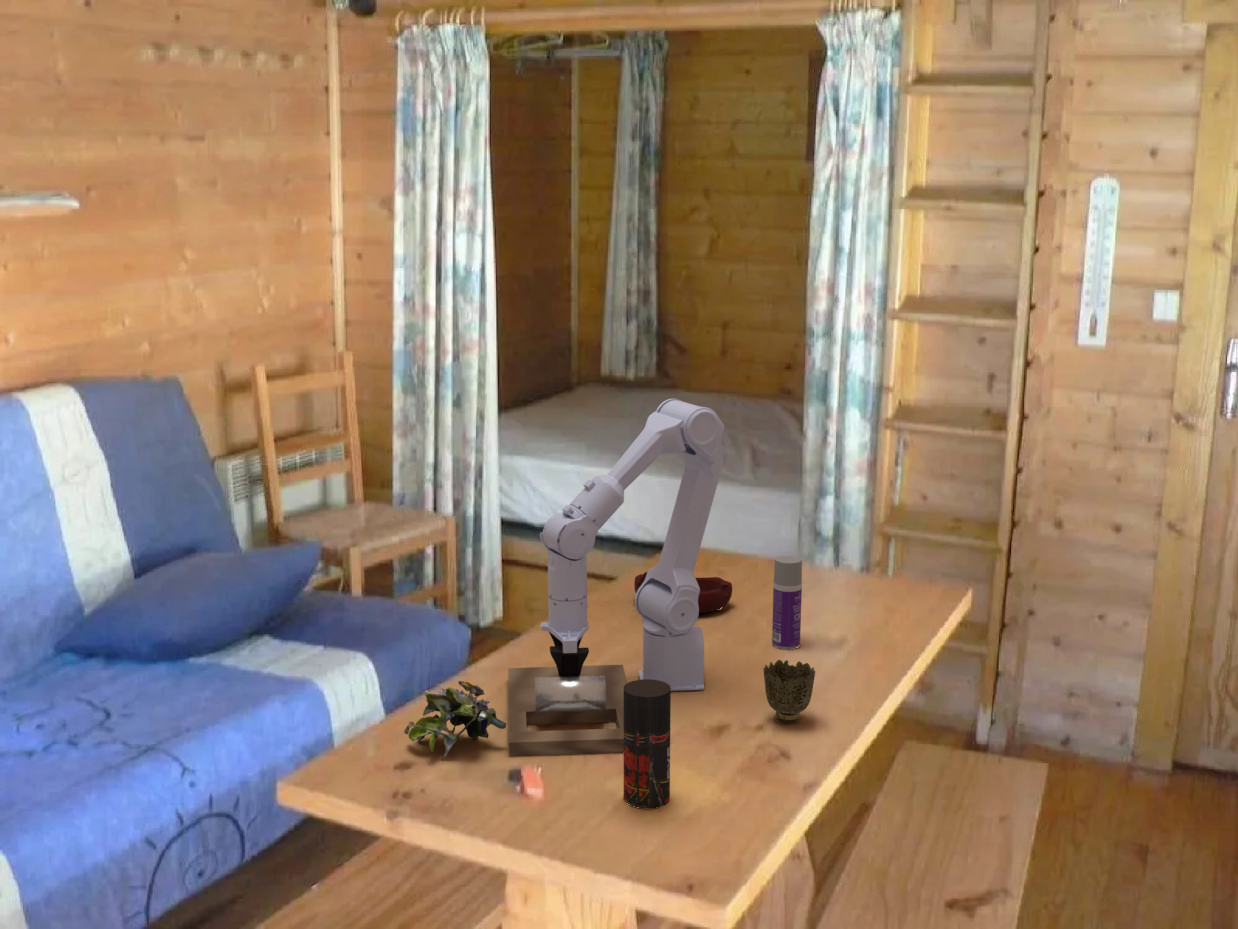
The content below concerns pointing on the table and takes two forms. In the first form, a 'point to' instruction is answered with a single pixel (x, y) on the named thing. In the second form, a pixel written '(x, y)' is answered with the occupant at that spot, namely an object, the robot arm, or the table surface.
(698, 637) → the robot arm
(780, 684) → the cup
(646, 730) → the deodorant
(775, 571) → the container
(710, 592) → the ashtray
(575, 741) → the grey brown board
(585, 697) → the roller
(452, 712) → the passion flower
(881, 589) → the table surface
